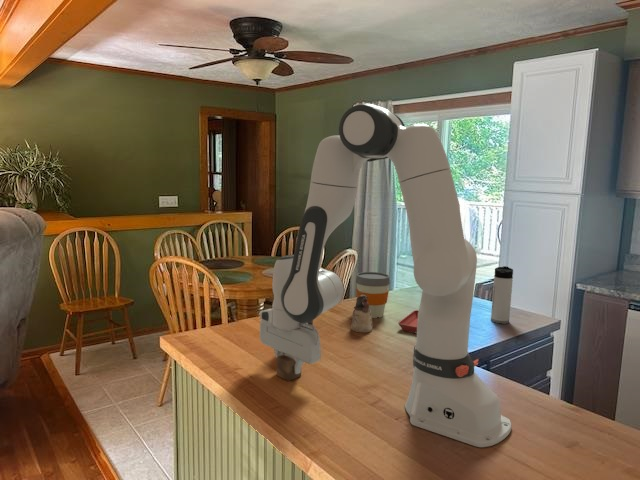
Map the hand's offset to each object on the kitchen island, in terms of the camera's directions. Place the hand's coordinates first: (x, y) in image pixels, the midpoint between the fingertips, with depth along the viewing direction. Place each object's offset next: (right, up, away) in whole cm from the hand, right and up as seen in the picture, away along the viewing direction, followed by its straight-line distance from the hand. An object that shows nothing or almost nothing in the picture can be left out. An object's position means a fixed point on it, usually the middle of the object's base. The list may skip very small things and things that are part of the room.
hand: (288, 369), depth 122 cm
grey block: (0, -2, 0) cm, 2 cm away
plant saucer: (+46, +2, +41) cm, 62 cm away
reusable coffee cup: (+27, +5, +56) cm, 63 cm away
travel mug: (+74, +3, +52) cm, 90 cm away
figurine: (+22, +3, +39) cm, 45 cm away
